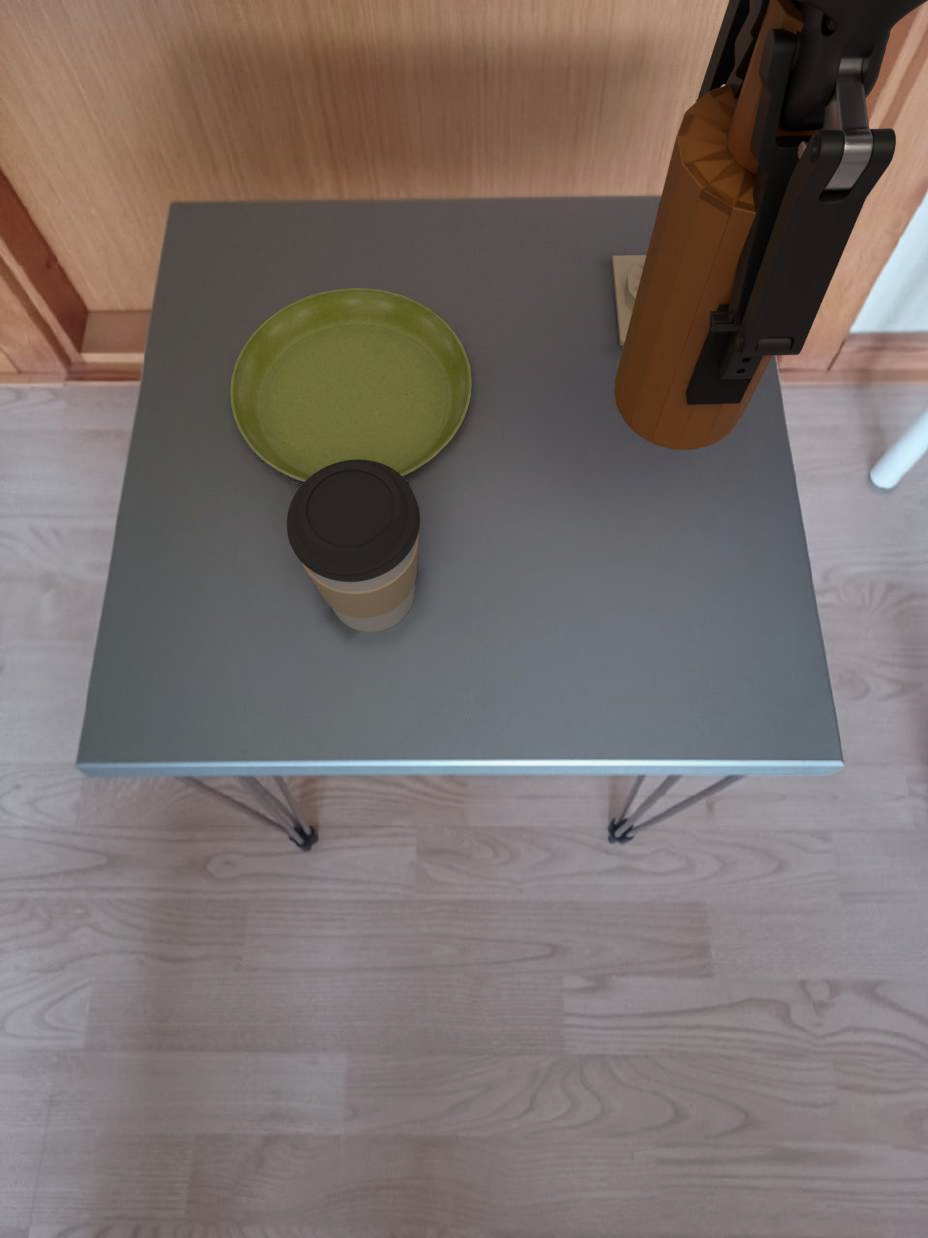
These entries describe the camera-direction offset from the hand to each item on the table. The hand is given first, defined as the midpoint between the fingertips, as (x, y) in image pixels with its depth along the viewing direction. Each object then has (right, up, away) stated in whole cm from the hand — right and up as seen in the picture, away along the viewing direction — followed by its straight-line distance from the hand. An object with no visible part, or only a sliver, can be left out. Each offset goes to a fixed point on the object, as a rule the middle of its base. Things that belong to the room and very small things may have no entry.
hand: (702, 331), depth 46 cm
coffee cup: (-20, -13, +25) cm, 34 cm away
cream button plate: (+5, +14, +35) cm, 38 cm away
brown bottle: (0, -2, +5) cm, 6 cm away
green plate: (-22, +4, +31) cm, 39 cm away
